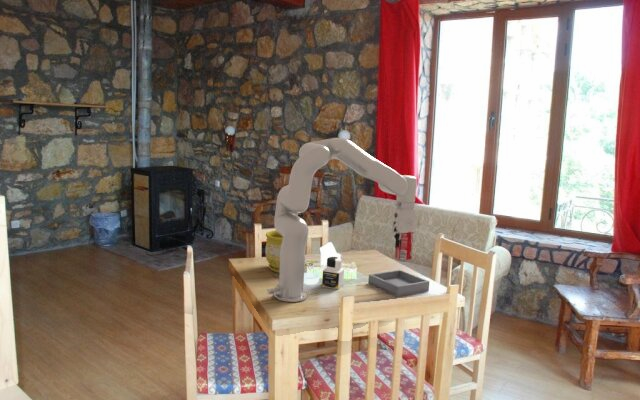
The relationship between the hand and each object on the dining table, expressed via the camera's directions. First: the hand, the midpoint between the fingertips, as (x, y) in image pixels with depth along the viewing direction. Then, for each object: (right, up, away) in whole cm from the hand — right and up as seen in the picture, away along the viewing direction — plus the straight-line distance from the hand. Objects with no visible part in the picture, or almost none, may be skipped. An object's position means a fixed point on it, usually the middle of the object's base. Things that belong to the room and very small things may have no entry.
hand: (401, 248), depth 216 cm
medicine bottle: (-29, -16, -1) cm, 33 cm away
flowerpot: (-51, -12, +18) cm, 55 cm away
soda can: (+1, -5, +1) cm, 6 cm away
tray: (-1, -17, +3) cm, 17 cm away
